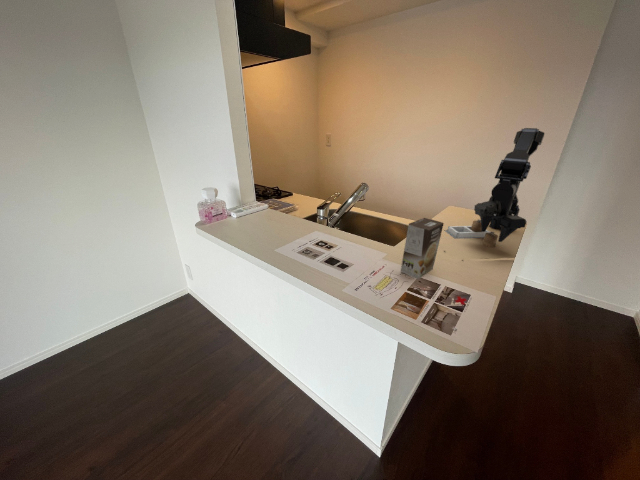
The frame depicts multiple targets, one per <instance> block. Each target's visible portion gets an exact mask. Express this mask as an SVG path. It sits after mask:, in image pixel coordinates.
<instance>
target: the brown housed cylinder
mask: <svg viewBox="0 0 640 480" xmlns="http://www.w3.org/2000/svg"><path fill="white" fill-rule="evenodd" d="M471 226H472V227H471V230H472V231H474V232H482V229H481V219H480V218H479V219H477V220H473V221H472V223H471Z"/></svg>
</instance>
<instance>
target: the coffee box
mask: <svg viewBox="0 0 640 480" xmlns="http://www.w3.org/2000/svg"><path fill="white" fill-rule="evenodd" d="M443 227H444V222H442V221H440V220H435V219H431V218H430V219H429V218H428V217H427V218H426V217H423V218H420V219H418V220H415V221H412V222H409V223H408V227H407V232H406V237H405V244H404V248H403V249H404V250H403V254H402V260H401V265H400V266H401V267H400V272H401V273H403V274H405V275H407V276H409V277H412V278H414V279H416V280H419V279H421V278H422V277H424V276H425V275H427V274H429V273H430V272H431V271H432V270H434V265H435V262H436V257H437V253H438V249H439V245H440V240H441V237H442V231H443Z"/></svg>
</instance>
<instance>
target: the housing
mask: <svg viewBox="0 0 640 480" xmlns="http://www.w3.org/2000/svg"><path fill="white" fill-rule="evenodd" d="M471 227H472V225H455V226H454V225H452V226H451V225H449V226H447V229H445V230H444V229H443V231H444V232H445V233H447V234H448V235H449V236H450V237H452V238H453V239H456V240H457V239H458V240H459V239H484V237H485V234H486V233H490V232H491V231H490V230H488V229H486V231H485V232H474V231H472V230H471Z"/></svg>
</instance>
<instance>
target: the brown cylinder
mask: <svg viewBox="0 0 640 480" xmlns="http://www.w3.org/2000/svg"><path fill="white" fill-rule="evenodd" d="M489 232H490V233H486V234H485V237H484V238H483V240H482V245H483V246H486V247H489V248H495V246H496V244H497V240H498V239H499V235H498V234H496V233H495V232H494V231H489Z"/></svg>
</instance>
